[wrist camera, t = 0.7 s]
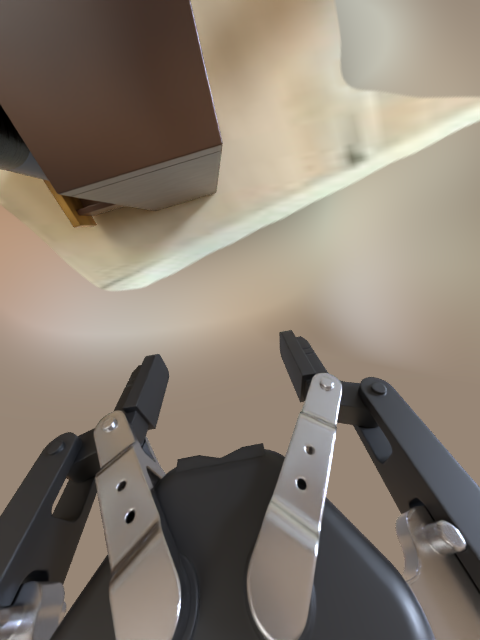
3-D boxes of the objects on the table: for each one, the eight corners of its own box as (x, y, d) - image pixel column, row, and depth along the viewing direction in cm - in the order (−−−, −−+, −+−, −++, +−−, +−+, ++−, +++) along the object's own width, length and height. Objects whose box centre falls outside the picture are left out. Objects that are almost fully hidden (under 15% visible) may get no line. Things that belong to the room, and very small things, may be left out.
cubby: (109, 106, 25) (-268, -315, 5) (187, 82, 24) (91, -437, 5) (154, 211, 31) (57, 194, 11) (216, 192, 31) (223, 144, 11)
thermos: (64, 150, 24) (-199, 25, 9) (104, 138, 24) (-89, -10, 9) (91, 199, 27) (-71, 170, 12) (127, 188, 27) (13, 144, 12)
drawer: (29, 127, 24) (-6, 110, 20) (109, 102, 24) (90, 80, 20) (89, 227, 30) (71, 228, 26) (154, 207, 30) (145, 205, 26)
